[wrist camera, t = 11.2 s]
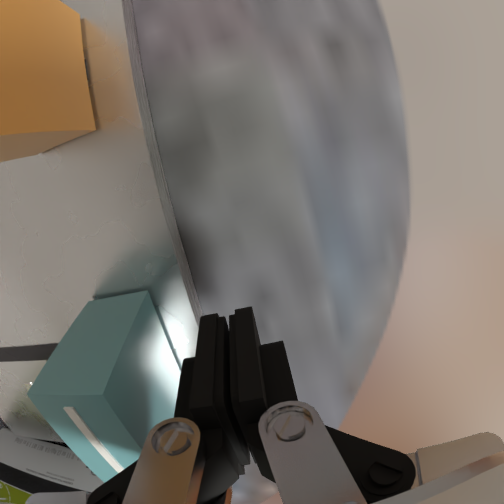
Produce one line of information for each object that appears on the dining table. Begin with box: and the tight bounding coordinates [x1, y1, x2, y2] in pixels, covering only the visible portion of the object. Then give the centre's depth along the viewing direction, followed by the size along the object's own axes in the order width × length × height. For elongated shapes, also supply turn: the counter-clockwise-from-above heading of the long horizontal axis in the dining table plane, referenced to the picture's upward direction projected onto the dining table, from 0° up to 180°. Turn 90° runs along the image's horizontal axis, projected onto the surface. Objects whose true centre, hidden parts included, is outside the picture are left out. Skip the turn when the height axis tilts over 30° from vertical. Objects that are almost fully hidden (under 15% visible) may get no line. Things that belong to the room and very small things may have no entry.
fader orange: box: [0, 0, 96, 162], centre depth 5 cm, size 4×2×5 cm, turn 11°
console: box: [0, 0, 204, 442], centre depth 10 cm, size 24×16×2 cm, turn 11°
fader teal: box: [27, 290, 181, 483], centre depth 9 cm, size 4×2×5 cm, turn 11°
